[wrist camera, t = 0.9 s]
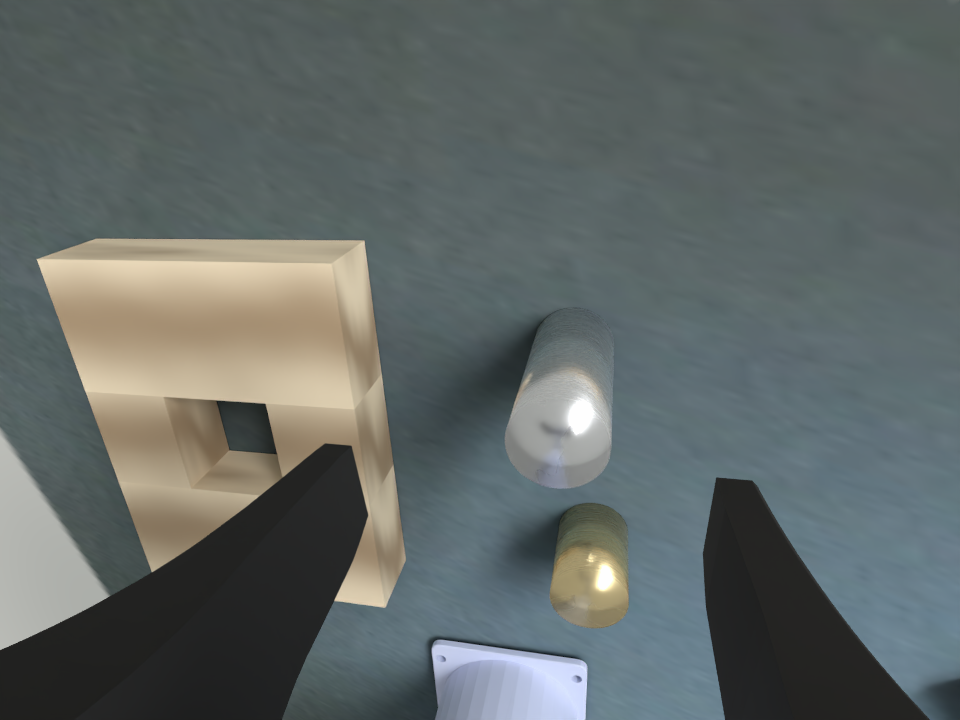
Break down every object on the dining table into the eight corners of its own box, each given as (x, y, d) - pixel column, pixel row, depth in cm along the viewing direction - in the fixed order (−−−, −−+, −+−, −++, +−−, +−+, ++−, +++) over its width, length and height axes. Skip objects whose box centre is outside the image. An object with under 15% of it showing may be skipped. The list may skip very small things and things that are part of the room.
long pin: (612, 381, 24) (608, 492, 18) (535, 377, 25) (506, 484, 18) (615, 308, 23) (613, 402, 16) (534, 306, 23) (503, 395, 17)
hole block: (406, 559, 30) (385, 607, 28) (191, 534, 33) (153, 576, 30) (364, 240, 23) (331, 263, 21) (96, 238, 26) (36, 259, 23)
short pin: (625, 559, 28) (626, 632, 24) (558, 552, 28) (549, 622, 25) (629, 506, 26) (630, 575, 23) (559, 499, 27) (549, 566, 23)
